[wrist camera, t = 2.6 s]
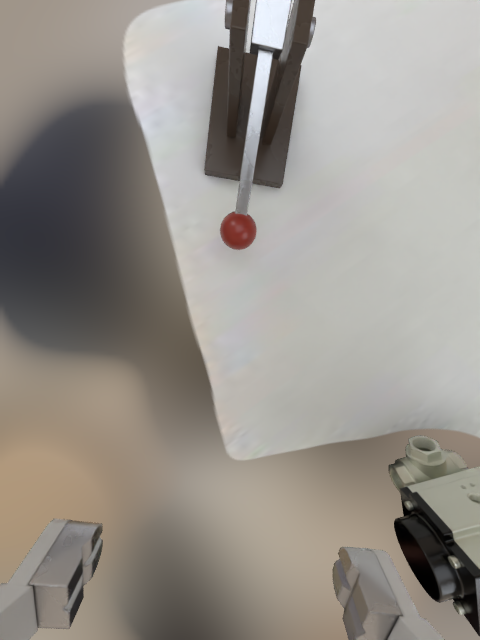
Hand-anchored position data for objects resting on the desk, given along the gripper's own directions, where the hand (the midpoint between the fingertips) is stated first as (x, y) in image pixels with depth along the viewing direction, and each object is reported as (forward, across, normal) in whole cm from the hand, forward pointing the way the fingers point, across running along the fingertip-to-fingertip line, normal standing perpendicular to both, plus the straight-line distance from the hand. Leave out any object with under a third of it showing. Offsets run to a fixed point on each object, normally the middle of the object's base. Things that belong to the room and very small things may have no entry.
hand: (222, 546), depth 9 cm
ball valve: (+25, -30, +17) cm, 43 cm away
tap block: (+28, +1, -23) cm, 36 cm away
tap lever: (+20, +1, -18) cm, 27 cm away
